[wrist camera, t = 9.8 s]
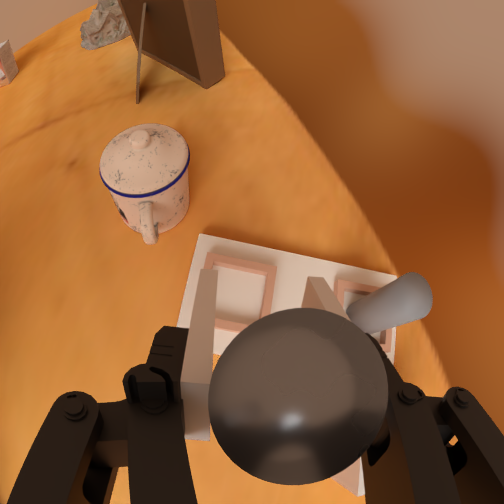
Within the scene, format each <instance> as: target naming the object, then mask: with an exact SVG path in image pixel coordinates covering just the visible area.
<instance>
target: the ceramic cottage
mask: <svg viewBox="0 0 504 504" xmlns="http://www.w3.org/2000/svg"><path fill="white" fill-rule="evenodd" d="M80 31H82V32H81V38H82V40H83V41H82V43H81V47H83V48H85V49H87V50H93V49H97V48H99V47H101V46H106V45H107V44H110V43H113V42H117V41H120V40H121V39H123V38H126V37H127V36H129V35H131V33H130V31H129V28H128V26H127V24H126V21H125V19H124V16H123V14H122V11H121V9H120V6H119V3H118V1H117V0H99V1H98V4H97V7H96V9H93V12H92V14H91V16H90V19H89V20H88V21H85V22H83V23H82V24H81V28H80Z"/></svg>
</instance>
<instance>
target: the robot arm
mask: <svg viewBox="0 0 504 504" xmlns="http://www.w3.org/2000/svg"><path fill="white" fill-rule="evenodd" d="M217 282H218V270H212V269H201V270H200V274H199V279H198V284H197V289H196V295H195V300H194V305H193V310H192V316H191V321H190V327H189V328H180V327H170V326H163V327H162V328H161V329H160V330H159V331H158V332H157V333H156V334H155V337H154V340H153V343H152V346H151V349H150V354H149V356H148V359H147V362H146V364H139V365H137V366H135V367H133V368H131V369H130V370H129V371H128V372H127V373H126V374H125V376H124V378H123V381H122V382H123V386H124V390H125V394H126V398H127V399H125V400H122V401H117V402H107V403H97V401H96V400H95V399H94V398H93V397H92V396H91V395H89V394H87V393H84V392H79V391H73V392H67V393H65V394H63V395H61V396H59V397H58V399H57V400H56V401H55V402H54V404H53V406H52V407H51V409H50V411H49V413H48V415H47V417H46V419H45V421H44V422H43V424H42V426H41V428H40V430H39V432H38V434H37V436H36V438H35V440H34V442H33V444H32V446H31V448H30V451H29V453H28V455H27V457H26V459H25V461H24V464H23V466H22V468H21V470H20V473H19V475H18V477H17V479H16V482H15V484H14V487H13V489H12V492H11V494H10V497H9V499H8V502H7V504H109V503H110V499H111V495H112V491H113V487H114V483H115V480H116V476H117V472H118V468H119V467H125V466H128V473H129V490H130V502H131V504H198V503H197V499H196V494H195V490H194V485H193V480H192V475H191V470H190V465H189V460H188V454H187V449H186V443H185V439H191V440H203V441H210V418H209V411H208V393H209V387H210V381H211V378H212V366H213V346H214V328H215V312H216V296H217ZM301 308H315V309H322V310H326V311H329V312H333V313H335V314H337V315H340V316H342V317H344V318H346V319H347V320H349V321H351V320H350V319H349V317H348V315H347V314H346V312H345V311H344V309H343V307H342V306H341V304H340V302H339V301H338V299H337V298H336V296H335V295H334V293H333V291H332V290H331V288H330V287H329V285H328V283H327V282H326V280H325V279H324V277H311V276H308V277H307V282H306V287H305V292H304V296H303V301H302V305H301ZM365 334H366V335H367V336H368V337H369V338H370V340H371V341H372V342H373V344H374V345H375V347H376V348H377V350H378V352H379V354H380V356H381V358H382V361H383V363H384V366H385V370H386V374H387V381H388V402H387V409H386V413H385V417H384V420H383V423H382V425H381V428H380V430H379V432H378V434H377V436H376V438H375V439H374V441H373V442H372V444H371V445H370V447H369V448H368V449H367V450H366V451H365V452H364V454H363V455H362V456H361V461H362V470H363V479H364V489H365V500H366V504H504V436H503V434H502V433H501V432H500V430H499V429H498V427H497V426H496V425H495V423H494V422H493V421H492V419H491V418H490V417H489V415H488V414H487V413H486V411H485V410H484V409H483V407H482V406H481V405H480V404H479V402H478V401H477V400H476V398H475V397H474V396H473V395H472V394H471V393H470V392H469V391H468V390H466V389H464V388H460V387H452V388H450V389H448V391H447V392H446V394H445V395H444V397H443V398H442V397H429V396H425V394H424V392H423V391H422V390H421V389H420V388H419V387H417V386H415V385H413V384H411V383H406V382H403V380H402V379H401V377H400V375H399V374H398V372H397V371H396V369H395V367H394V366H393V364H392V363H391V361H390V360H389V358H387V355H386V353H385V352H384V351H383V349H382V347H381V346H380V344H379V343H378V341H377V340H376V339H375V338H373V337H372V336H371V335H370V334H368V333H365ZM454 435H455V436H456V437H457V439H458V441H457V443H456V444H455V445H450V443H449V441H450V440H451V439H452V438H453V437H454Z"/></svg>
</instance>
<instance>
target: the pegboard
mask: <svg viewBox="0 0 504 504" xmlns="http://www.w3.org/2000/svg"><path fill="white" fill-rule="evenodd" d="M201 269H212V270H218V282H217V296H216V312H215V328H214V346H213V354H217V355H222V353H223V352H224V350H225V349H226V347H227V346H228V345H229V344H230V342H231V341H232V340H233V339H234V338H235V337H236V336H237V335H238V334H239V333H240V332H241V331H242V330H243V329H245V328H246V327H248V326H249V325H250V324H252V323H253V322H255V321H257V320H259V319H261V318H262V317H264V316H267V315H269V314H272V313H275V312H278V311H282V310H286V309H293V308H301V305H302V301H303V296H304V292H305V287H306V282H307V277H308V276H311V277H324V279H325V280H326V282H327V283H328V285H329V287H330V288H331V290H332V291H333V293H334V295H335V296H336V298H337V299H338V301H339V302H340V304H341V306H342V307H343V309H344V311H345V312H346V314H347V315H348V317H349V319H350V320H351V322H352V323H354V324H355V325H356V326H358V327H359V328H360V329H361V330H362V331H363V332H364V333H368V334H370V335H371V336H372V337H373V338H375V339H376V340H377V341H378V343H379V344H380V346H381V347H382V349H383V351H384V352H385V353H386V355H387V358H389V360H390V361H391V363H392V364H393V366H394V354H395V338H396V326H400V325H403V324H406V323H409V322H412V321H415V320H418V319H421V318H423V317H425V316H426V315H427V314H428V313H429V311H430V309H431V306H432V292H431V289H430V286H429V284H428V283H427V281H426V280H425V278H423V277H422V276H421V275H420V274H418V273H414V272H409V273H406V274H405V275H403V276H401V277H399V278H398V279H397V276H395V275H390V274H386V273H381V272H377V271H372V270H368V269H363V268H359V267H354V266H350V265H345V264H341V263H336V262H332V261H327V260H322V259H318V258H313V257H309V256H304V255H299V254H295V253H290V252H285V251H281V250H276V249H271V248H267V247H262V246H257V245H253V244H248V243H243V242H239V241H234V240H229V239H225V238H220V237H215V236H210V235H206V234H201V233H199V237H198V241H197V244H196V248H195V252H194V256H193V260H192V264H191V268H190V272H189V276H188V280H187V284H186V288H185V293H184V297H183V301H182V305H181V310H180V314H179V319H178V323H177V327H180V328H189V327H190V321H191V316H192V310H193V305H194V300H195V295H196V289H197V284H198V279H199V274H200V270H201Z"/></svg>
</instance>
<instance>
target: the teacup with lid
mask: <svg viewBox="0 0 504 504" xmlns="http://www.w3.org/2000/svg"><path fill="white" fill-rule="evenodd" d="M189 160H190V152H189V147H188V145H187V143H186V141H185V139H184V138H183V137H182V135H181V134H180V133H178V132H177V131H176V130H174V129H173V128H171V127H168V126H165V125H161V124H141V125H137V126H134V127H131V128H128V129H126V130H124V131H123V132H121V133H119V134H118V135H117V136H115V137H114V138H113V139H112V140H111V141H110V142H109V143H108V145H107V146H106V148H105V149H104V151H103V154H102V156H101V160H100V168H99V169H100V176H101V179H102V181H103V183H104V184H105V186H106V187H107V188H108V189H109V191H110V193H111V195H112V198H113V200H114V202H115V204H116V206H117V209H118V211H119V213H120V215H121V217H122V219H123V221H124V222H125V223H126V225H127V226H129V227H130V228H131V229H133V230H134V231H136V232H139V233H142V237H143V240H144V242H145V243H146V244H148V245H152V244H156V243H157V241H158V234H159V233H163V232H165V231H168V230H170V229H172V228H173V227H175V226H176V225H177V224H178V223H179V222H180V221H181V220H182V219H183V218H184V216H185V214H186V213H187V210H188V207H189V200H190V199H189V181H188V164H189Z"/></svg>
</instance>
